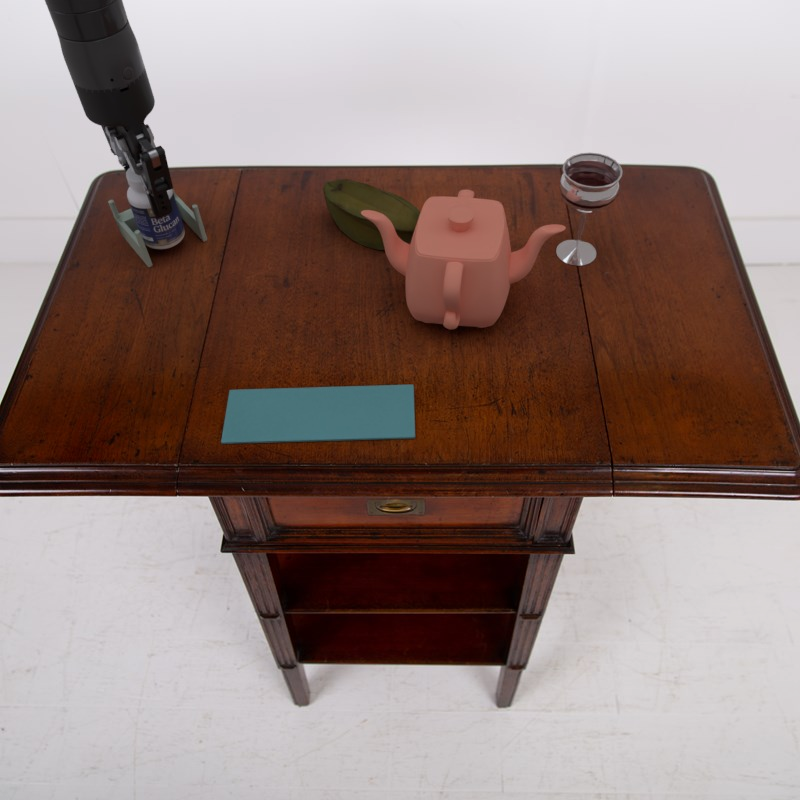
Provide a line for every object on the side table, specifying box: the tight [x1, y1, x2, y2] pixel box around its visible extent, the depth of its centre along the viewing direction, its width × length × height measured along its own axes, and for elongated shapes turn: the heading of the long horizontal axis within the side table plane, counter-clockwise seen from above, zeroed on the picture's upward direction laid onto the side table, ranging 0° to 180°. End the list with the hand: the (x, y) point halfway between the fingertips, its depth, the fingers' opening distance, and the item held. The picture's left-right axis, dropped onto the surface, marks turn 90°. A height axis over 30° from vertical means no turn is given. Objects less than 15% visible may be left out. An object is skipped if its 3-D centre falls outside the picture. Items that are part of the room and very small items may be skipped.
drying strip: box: [220, 383, 416, 445], centre depth 80 cm, size 20×7×1 cm, turn 91°
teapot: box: [361, 189, 566, 330], centre depth 85 cm, size 15×17×13 cm
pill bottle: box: [125, 163, 186, 250], centre depth 93 cm, size 5×5×10 cm
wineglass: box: [555, 152, 623, 266], centre depth 90 cm, size 7×7×12 cm
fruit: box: [322, 178, 421, 251], centre depth 96 cm, size 11×12×7 cm
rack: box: [107, 188, 208, 268], centre depth 97 cm, size 8×8×5 cm
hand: (152, 201), depth 93 cm, fingers closed on pill bottle, 5 cm apart
